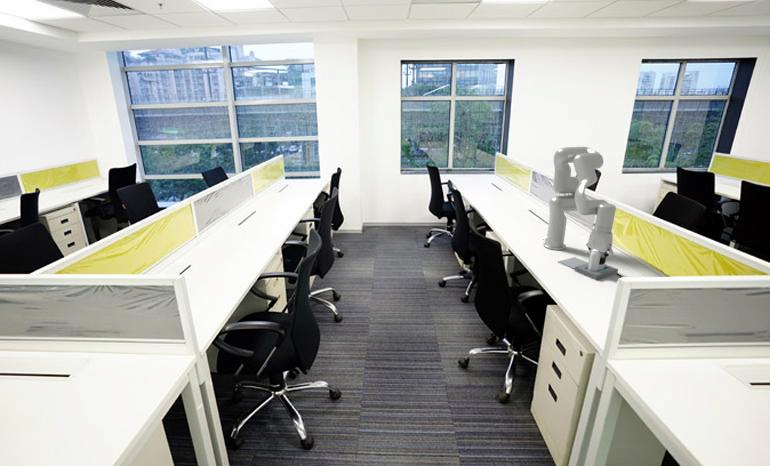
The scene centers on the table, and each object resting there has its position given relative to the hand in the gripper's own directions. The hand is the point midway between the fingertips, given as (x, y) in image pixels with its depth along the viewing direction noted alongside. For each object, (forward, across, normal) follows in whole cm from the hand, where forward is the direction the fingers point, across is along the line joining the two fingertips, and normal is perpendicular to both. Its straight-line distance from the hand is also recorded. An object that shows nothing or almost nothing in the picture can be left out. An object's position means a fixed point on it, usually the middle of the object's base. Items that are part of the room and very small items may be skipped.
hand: (597, 261), depth 185 cm
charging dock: (+6, 0, 0) cm, 6 cm away
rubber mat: (+6, -12, 0) cm, 14 cm away
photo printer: (+5, 0, 0) cm, 5 cm away
